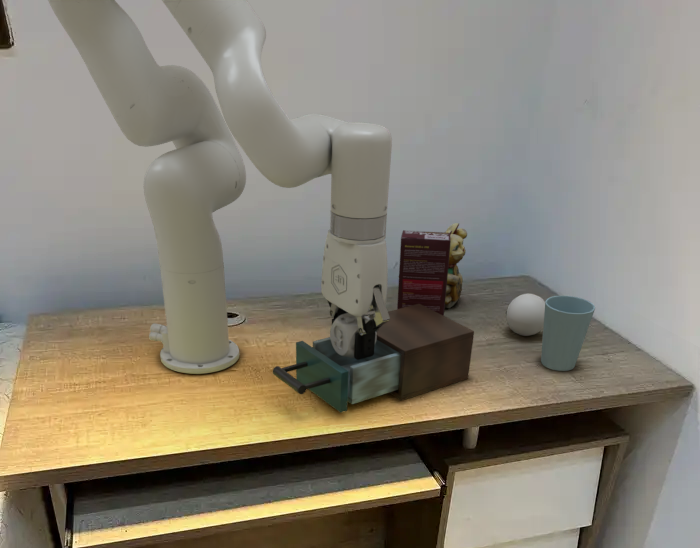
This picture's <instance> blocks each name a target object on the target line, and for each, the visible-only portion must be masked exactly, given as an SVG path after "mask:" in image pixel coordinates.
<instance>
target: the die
mask: <svg viewBox="0 0 700 548" xmlns="http://www.w3.org/2000/svg"><path fill="white" fill-rule="evenodd" d="M368 316H369V315H368ZM368 316H364V317H365V324H366V323H367V322H368V321H369V320H370V318H369V317H368ZM355 333H359V332H358V324H357V317H356V316H353V315H351V314H350V313H346V314H342V315H340V316H339V317H337V318H336V320H335V321H334V322H333V324H332V323H331V327H330V330H329V337H330V339H331V343H332V346H333V348H334V349H335V351H336V352H337V353H338V354H339V355H341V356H343V357H347V358H354V349H355ZM376 339H377V333H375V343H376Z"/></svg>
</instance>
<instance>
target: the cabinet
mask: <svg viewBox="0 0 700 548" xmlns="http://www.w3.org/2000/svg"><path fill="white" fill-rule="evenodd" d="M387 311H388V314H389V317H390V320H389V321H388V322H387V323H385V324H383V325H382V326H381V327H380V328H379V330H378V331H377V332H376V333H377V339H376V340H378V341H380V342H382V343H383V344H385V345H387V346H388V347H390V348H392V349H393V350H395V351H397V352H399V353H400V354H401V365H400V378H399V389H398V390H395V391H392V392H389V393H388V394H390V395H392V396H393V397H395V398H397V399H398V400H399V401H404V400H408V399H410V398H414V397H417V396H420V395H422V394H426V393H429V392H432V391H434V390H438V389H441V388H445V387H446V386H449V385H452V384H456V383H459V382H462V381H465V380H468V379H469V374H470V365H471V360H472V359H471V358H472V351H473V343H474V336H475V331H474V330H473V329H470V328H469V327H467V326H464V325H463V324H460V323H458V322H457V321H455V320H453V319H451V318H449V317H447V316H445V315H444V316H443V315H441V314H439V313H437V312H435V311H433V310H431V309H429V308H427V307H425V306H423V305H421V304H416V305H412V306H408V307H404V308H400V309H397V308H396V309H392V310H387ZM368 317H369V318H370V316H369V315H368Z"/></svg>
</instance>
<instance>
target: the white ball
mask: <svg viewBox="0 0 700 548" xmlns="http://www.w3.org/2000/svg"><path fill="white" fill-rule="evenodd" d="M501 303H503V304H506V305H508V306H507V309H506V310H505V320H506V322H507V325H508V327H509V328H510V330H511V331H512V332H513V333H515V334H517V335H519V336H523V337H528V336H535V335H536V334H538V333H539V332H541V331H543V327H544V313H545V300H544V299H543V297H541V296H539V295H537V294H534V293H523V294H520V295H518V296H516V297H515V298H513V299H512V300H511V301H510V303H507V302H503V301H501Z"/></svg>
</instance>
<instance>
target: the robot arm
mask: <svg viewBox="0 0 700 548" xmlns="http://www.w3.org/2000/svg"><path fill="white" fill-rule="evenodd" d="M47 1H48V4H49V6H50V8H51V9H52V11H53V13H54V15H55V16H56V18H57V20H58V21H59V23H60V25H61V26H62V28H63V29H64V31H65V32H66V34H67V36H68V37H69V38H70V40H71V42H72V43H73V45H74V47H75V48H76V49H77V51H78V53H79V55H80V57H81V59H82V61H83V62H84V64H85V66H86V68H87V70H88V73H89V74H90V76H91V78H92V80H93V82H94V83H95V86H96V87H97V89H98V91H99V93H100V94H101V96H102V98H103V101H104V102H105V104H106V105H107V107H108V109H109V112H110V113H111V115H112V116H113V118H114V121H115V122H116V124H117V126H118V128H119V129H120V131H121V132H122V133H123V135H124V136H125V138H126V139H127V140H128V141H129V142H130V143H132V144H133V145H136V146H139V147H145V148H146V147H148V148H149V147H155V146H156V147H157V146H160V145H164V144H167V143H170V142H172V143H173V146H174V147H175V149H172V150H170V151H167V152H164V153H162V154H161V155H159V156H158V157H157V158H155V159H154V160H153V161H152V162H151V164H150V165H149V166H148V168H147V169H146V172H145V175H144V178H143V194H144V200H145V204H146V208H147V209H148V212H149V216H150V219H151V222H152V227H153V230H154V236H155V243H156V248H157V255H158V264H159V270H160V278H161V287H162V298H163V305H164V315H165V322H166V325H164V324H160V323H156V322H153V323H151V325H150V328H149V333H148V339H149V340H150V341H152V342H153V341H154V342H161V344H162V346H163V347H162V348H161V350H160V353H159V356H160V362H161V363H162V365H163V366H165V368H167V369H169V370H171V371H174V372H176V373H177V372H178V373H182V374H189V375H190V374H191V375H201V374H210V373H217V372H219V371H223V370H225V369H228V368H230V367H232V366H233V365H235V364H236V363H237V362H238V360H239V359H240V348H239V345H237V343H236V342H234V341H233V340H231V339H230V336H229V321H228V320H229V319H228V308H227V306H228V305H227V293H226V291H227V289H226V278H225V275H226V274H225V262H224V251H223V250H224V249H223V244H222V240H221V236H220V234H219V231H218V229H217V226H216V224H215V221H214V218H213V213H214V212H217V211H218V210H221V209H222V208H225V207H227V206H228V205H231V204H232V203H234V202H235V201H237V200H238V199H239V198H240V197H241V195H242V194H243V193H244V190H245V188H246V183H247V171H246V166H245V162H244V160H243V157H242V154H241V151H240V149H239V148H238V145H239V146H240V148H241V149H242V150H243V152H244V153H245V155H246V156H247V158H248V159H249V160H250V162H251V164H253V166H254V167H255V168H256V169H257V170H258V172H259V173H260V174H261V175H262V176H263V177H264V178H266V179H267V181H269V182H270V183H272V184H273V185H276V186H278V187H280V188H285V189H291V188H292V189H293V188H297V187H300V186H303V185H305V184H306V183H308V182H310V181H312V180H314V179H317V178H320V177H324V176H327V175H331V178H330V210H329V211H330V214H329V216H330V217H329V229H328V230H327V233H326V238H325V241H324V242H325V243H324V247H323V255H322V265H321V266H322V267H321V285H320V287H321V288H320V290H321V291H320V292H321V295H322V297H323V298H324V299H325V300H326V301H327V303H328V306H329V316H330V318H331V325H332V324H333V322H334V321H335V320H336V318H337V317H339V316H340V315H342V314H346V313H350V314H351V315H353V316H356V317H357V324H358V332H359V333H355V349H354V358H355V359H357V360H360V359H363V358H367V357H371V356H373V355H374V348H375V333H376V332H377V331H378V330H379V328H380V327H381V326H382V325H383V324H385V323H387V322H388V321H389V320H390V317H389V314H388V311H389V310H388V309H387V305H386V304H387V297H388V280H389V279H388V277H389V276H388V275H389V274H388V270H389V269H388V249H387V241H386V240H385V239H386V235H387V222H388V221H387V220H388V205H389V192H390V191H389V190H390V179H391V178H390V177H391V163H392V150H393V149H392V147H393V138H392V133H391V132H390V129H388V127H386V126H383V125H382V124H378V123H372V122H364V121H363V122H362V121H356V122H350V121H346V120H343V119H339V118H336V117H333V116H329V115H327V114H320V113H308V114H305V115H300V116H297V117H295V118H291V119H290V117H289V116H288V114H287V113H286V112H285V111H284V109H283V108H282V106H281V105H280V103H279V101H278V100H277V99H276V97H275V95H274V94H273V92H272V90H271V89H270V86H269V84H268V83H267V80H266V77H265V75H264V71H263V66H262V53H263V49H264V44H265V42H266V39H267V30H266V27H265V25H264V23H263V21H262V19H261V18H260V17H259V15H258V14H257V13H256V11H255V10H254V8H253V6H252V5H251V4H250V2H249V1H248V0H161V1H162V3H163V4H164V5H165V7H166V8H167V9H168V11H169V12H170V14H171V15H172V16H173V18H174V19H175V20H176V22H177V24H178V25H179V26H180V28H181V29H182V31H183V32H184V34H185V35H186V36H187V38H188V39H189V40H190V42H191V43H192V45H193V46H194V48H195V49H196V50H197V52H198V53H199V55H200V56H201V57H202V59H203V60H204V62H205V63H206V65H207V66H208V68H209V70H210V71H211V73H212V76H213V82H214V89H215V93H216V97H217V99H218V104H219V106H220V108H219V106H218V104H217V103H216V100H215V98H214V96H213V94H212V93H211V91H210V89H209V87H208V86H207V85H206V83H205V82H204V81H203V80H202V79H201V77H199V75H197V73H195V71H192V70H191V69H189V68H187V67H185V66H182V65H175V64H171V65H169V64H168V65H162V66H161V65H159V64H158V62H157V61H156V59H155V57H154V56H153V55H152V53H151V51H150V49H149V47H148V45H147V44H146V41H145V39H144V37H143V34H142V33H141V31H140V28H138V26H137V24H136V22H134V20H133V19H132V18H131V16H130V15H129V14H128V13H127V12H126V11H125V9H124V8H122V6H120V4H119V3H118V2H117V1H116V0H47ZM220 110H221V111H220ZM236 142H237V143H238V145H237V143H236ZM364 316H370V320H369V321H368V322H367V323H366V324H365V317H364Z"/></svg>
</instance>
